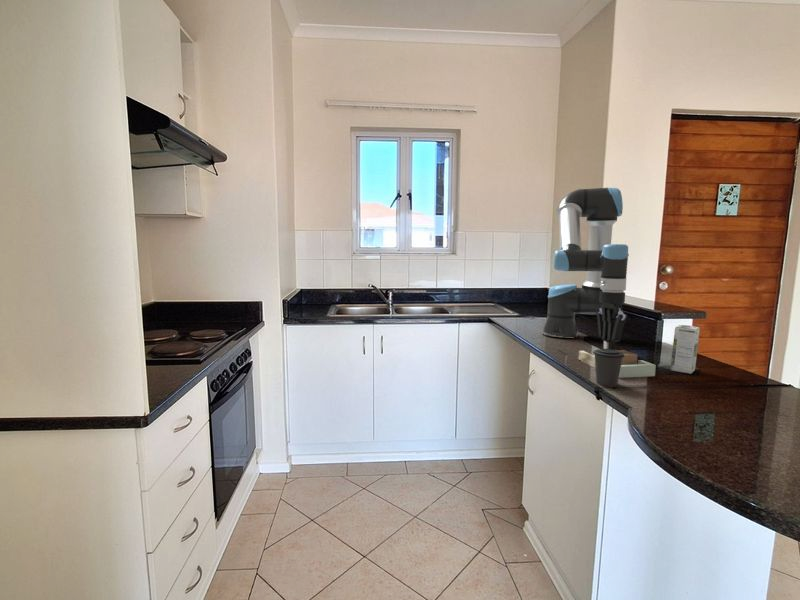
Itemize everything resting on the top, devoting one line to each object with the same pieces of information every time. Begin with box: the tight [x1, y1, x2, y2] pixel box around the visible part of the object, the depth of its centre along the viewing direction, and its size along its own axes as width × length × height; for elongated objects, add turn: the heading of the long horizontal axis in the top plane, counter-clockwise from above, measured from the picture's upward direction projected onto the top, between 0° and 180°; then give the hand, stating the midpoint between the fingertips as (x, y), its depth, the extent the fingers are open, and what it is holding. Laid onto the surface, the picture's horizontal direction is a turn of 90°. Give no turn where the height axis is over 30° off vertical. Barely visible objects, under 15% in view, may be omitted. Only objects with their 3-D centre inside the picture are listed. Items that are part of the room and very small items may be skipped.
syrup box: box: [670, 324, 701, 375], centre depth 127 cm, size 6×6×14 cm
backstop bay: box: [618, 359, 657, 379], centre depth 124 cm, size 6×13×4 cm, turn 99°
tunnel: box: [578, 350, 596, 369], centre depth 136 cm, size 10×13×4 cm
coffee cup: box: [592, 348, 624, 388], centre depth 115 cm, size 8×8×10 cm
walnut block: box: [615, 349, 638, 365], centre depth 128 cm, size 6×6×6 cm
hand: (607, 360), depth 135 cm, fingers closed
